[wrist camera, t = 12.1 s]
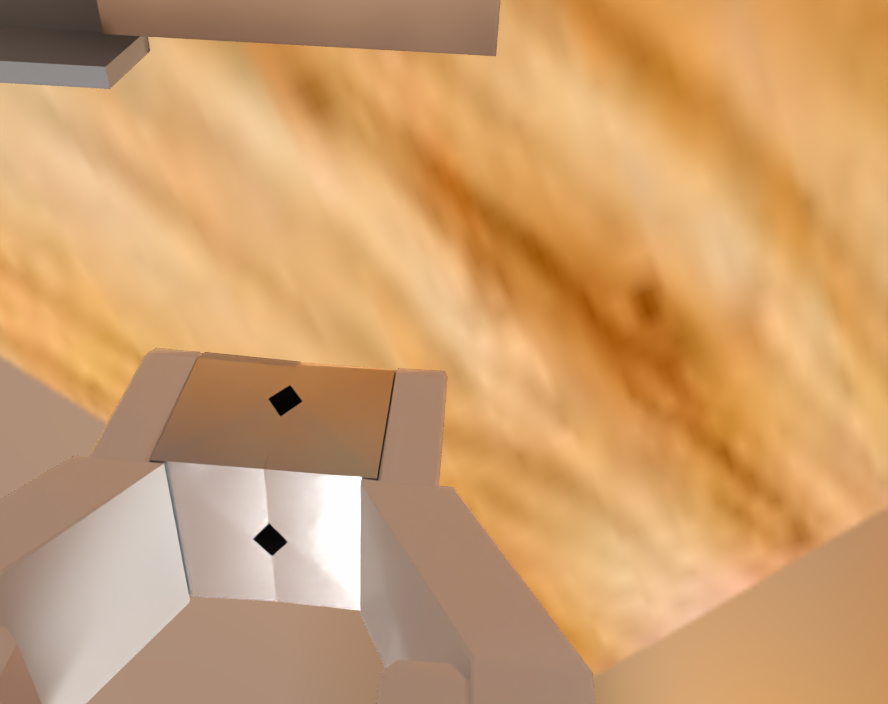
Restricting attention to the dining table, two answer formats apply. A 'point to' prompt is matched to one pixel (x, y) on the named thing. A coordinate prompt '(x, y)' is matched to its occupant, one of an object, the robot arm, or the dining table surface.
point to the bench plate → (315, 22)
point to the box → (63, 45)
